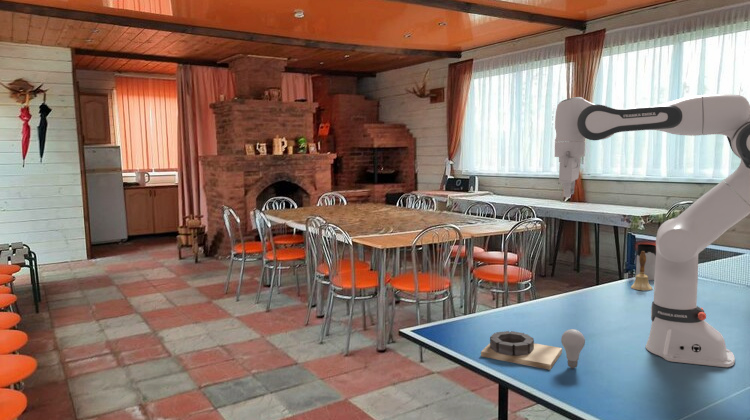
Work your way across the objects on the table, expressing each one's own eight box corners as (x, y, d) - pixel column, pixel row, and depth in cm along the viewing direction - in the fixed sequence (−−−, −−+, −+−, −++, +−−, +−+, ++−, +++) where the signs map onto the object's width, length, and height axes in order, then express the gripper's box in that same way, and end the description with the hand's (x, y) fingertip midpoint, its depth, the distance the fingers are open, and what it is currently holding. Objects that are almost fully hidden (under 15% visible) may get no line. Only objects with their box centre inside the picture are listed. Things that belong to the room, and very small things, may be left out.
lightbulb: (573, 374, 145) (574, 335, 144) (555, 366, 150) (556, 328, 149) (589, 369, 148) (590, 331, 147) (571, 362, 153) (572, 324, 152)
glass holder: (638, 279, 244) (639, 247, 242) (628, 272, 257) (630, 241, 256) (659, 280, 242) (660, 247, 240) (648, 273, 256) (649, 241, 254)
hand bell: (628, 285, 234) (629, 249, 233) (648, 285, 233) (649, 249, 231) (634, 290, 226) (635, 253, 224) (655, 290, 225) (657, 253, 223)
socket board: (561, 352, 160) (562, 338, 160) (550, 369, 148) (550, 354, 148) (496, 341, 171) (496, 327, 170) (480, 356, 159) (481, 341, 158)
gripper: (576, 151, 156) (576, 198, 158) (583, 150, 175) (582, 193, 176) (554, 151, 159) (553, 198, 161) (563, 150, 177) (562, 192, 179)
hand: (568, 195), depth 169 cm, fingers open, 8 cm apart
